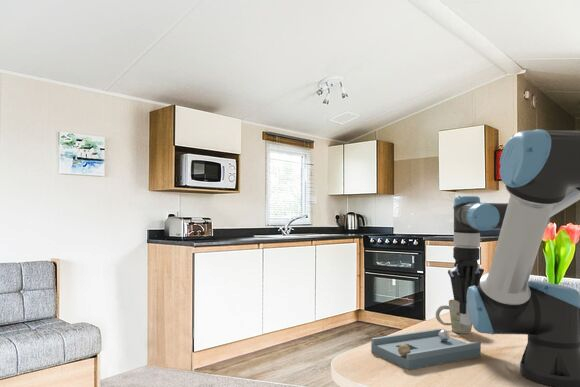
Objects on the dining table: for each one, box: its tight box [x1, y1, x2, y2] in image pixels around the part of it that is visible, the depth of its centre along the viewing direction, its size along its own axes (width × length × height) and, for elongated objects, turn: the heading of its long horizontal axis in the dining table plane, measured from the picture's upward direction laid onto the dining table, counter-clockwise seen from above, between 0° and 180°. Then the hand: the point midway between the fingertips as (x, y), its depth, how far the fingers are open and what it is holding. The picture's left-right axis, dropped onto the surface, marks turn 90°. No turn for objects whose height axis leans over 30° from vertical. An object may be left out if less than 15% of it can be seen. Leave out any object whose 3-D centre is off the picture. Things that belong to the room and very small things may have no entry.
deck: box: [370, 328, 482, 371], centre depth 135 cm, size 16×26×4 cm, turn 117°
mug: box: [435, 298, 473, 335], centre depth 160 cm, size 8×13×10 cm, turn 79°
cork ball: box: [398, 344, 411, 357], centre depth 125 cm, size 3×3×3 cm
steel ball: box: [438, 329, 451, 342], centre depth 139 cm, size 3×3×3 cm
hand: (465, 323), depth 144 cm, fingers closed
